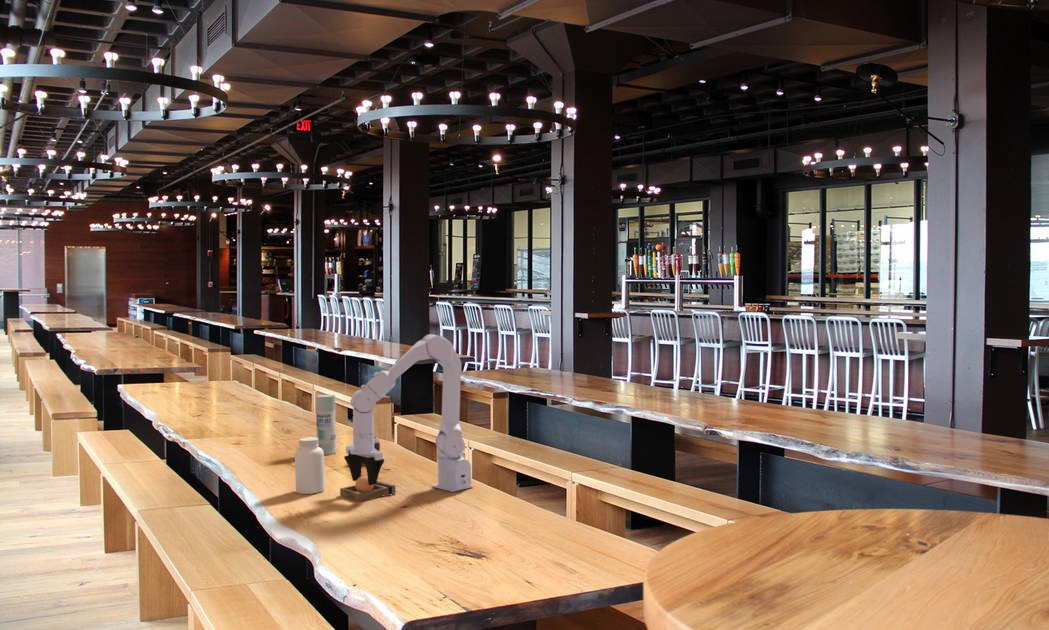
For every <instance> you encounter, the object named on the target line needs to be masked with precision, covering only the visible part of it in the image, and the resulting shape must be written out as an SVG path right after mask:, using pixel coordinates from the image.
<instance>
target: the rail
mask: <svg viewBox="0 0 1049 630" xmlns="http://www.w3.org/2000/svg"><path fill="white" fill-rule="evenodd" d="M376 484H377V485H381V486H384V487H388V488H389V495H390V494H395V495H396V485H395V484H392V483H388V482H383V481H380V480H377V483H376Z"/></svg>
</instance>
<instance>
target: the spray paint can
mask: <svg viewBox="0 0 1049 630" xmlns="http://www.w3.org/2000/svg"><path fill="white" fill-rule="evenodd" d="M315 412H316V414H315V415H316V416H315V417H316V419H315V420H316V438H318V444H319V446H318V447H320V448H321V449H322V450H323V452H324V456H329V455H331V456H332V455H335V454H336V452H337V450H336V445H337V444H336V442H337V441H336V435H337V434H336V395H335V394H318V395H316V396H315Z"/></svg>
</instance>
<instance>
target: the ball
mask: <svg viewBox="0 0 1049 630" xmlns="http://www.w3.org/2000/svg"><path fill="white" fill-rule="evenodd" d="M373 486H374V485H369V483H368V476H367V475H361V477H359V478H358V479H357V481H355V487H356V490H357V491H358V492H359V493H364V492H369V491H372V489H373Z"/></svg>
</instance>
